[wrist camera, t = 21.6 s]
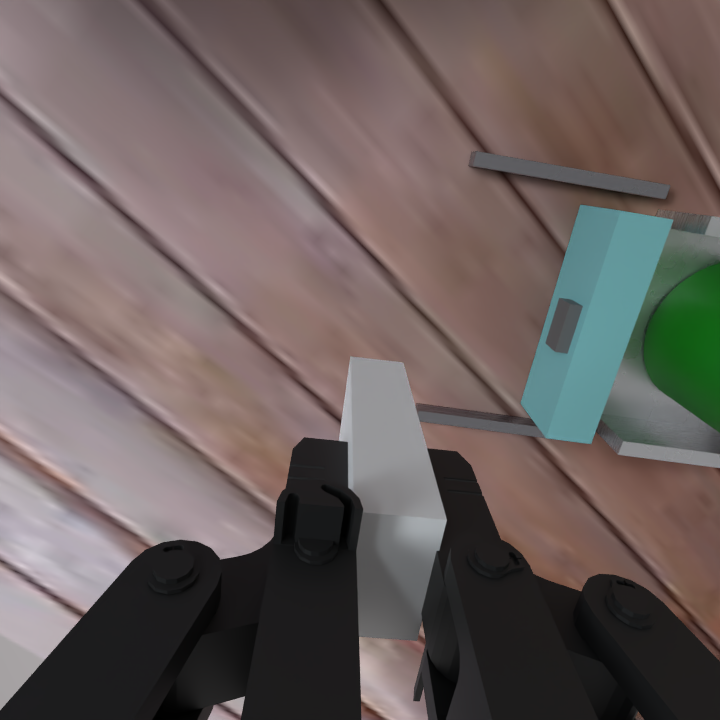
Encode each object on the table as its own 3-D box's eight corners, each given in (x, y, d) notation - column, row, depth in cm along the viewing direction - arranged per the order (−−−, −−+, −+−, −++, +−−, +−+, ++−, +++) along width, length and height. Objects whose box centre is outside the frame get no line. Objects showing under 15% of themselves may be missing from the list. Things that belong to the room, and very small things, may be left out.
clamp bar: (568, 202, 31) (606, 208, 27) (625, 212, 32) (673, 219, 27) (509, 401, 36) (533, 436, 32) (559, 408, 36) (590, 443, 32)
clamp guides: (471, 151, 30) (476, 151, 29) (658, 184, 31) (670, 185, 30) (414, 413, 36) (416, 420, 35) (571, 434, 37) (578, 442, 36)
